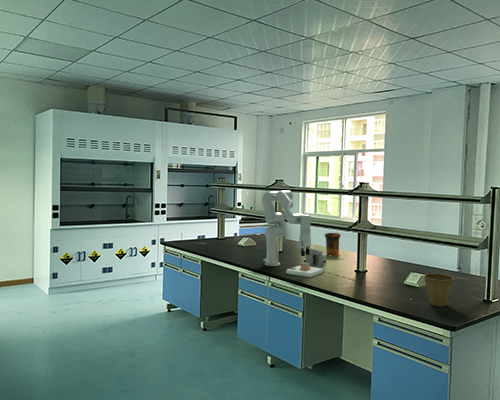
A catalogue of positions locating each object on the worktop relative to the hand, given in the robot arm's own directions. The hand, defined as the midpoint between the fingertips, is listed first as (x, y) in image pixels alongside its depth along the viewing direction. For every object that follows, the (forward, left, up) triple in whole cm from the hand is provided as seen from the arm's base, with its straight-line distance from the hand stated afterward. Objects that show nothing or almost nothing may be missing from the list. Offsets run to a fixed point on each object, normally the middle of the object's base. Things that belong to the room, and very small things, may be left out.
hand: (305, 255), depth 314 cm
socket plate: (0, 0, -14) cm, 14 cm away
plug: (0, 0, -13) cm, 13 cm away
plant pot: (+99, -21, -14) cm, 102 cm away
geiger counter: (-5, +26, -14) cm, 30 cm away
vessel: (-18, +78, -14) cm, 81 cm away
